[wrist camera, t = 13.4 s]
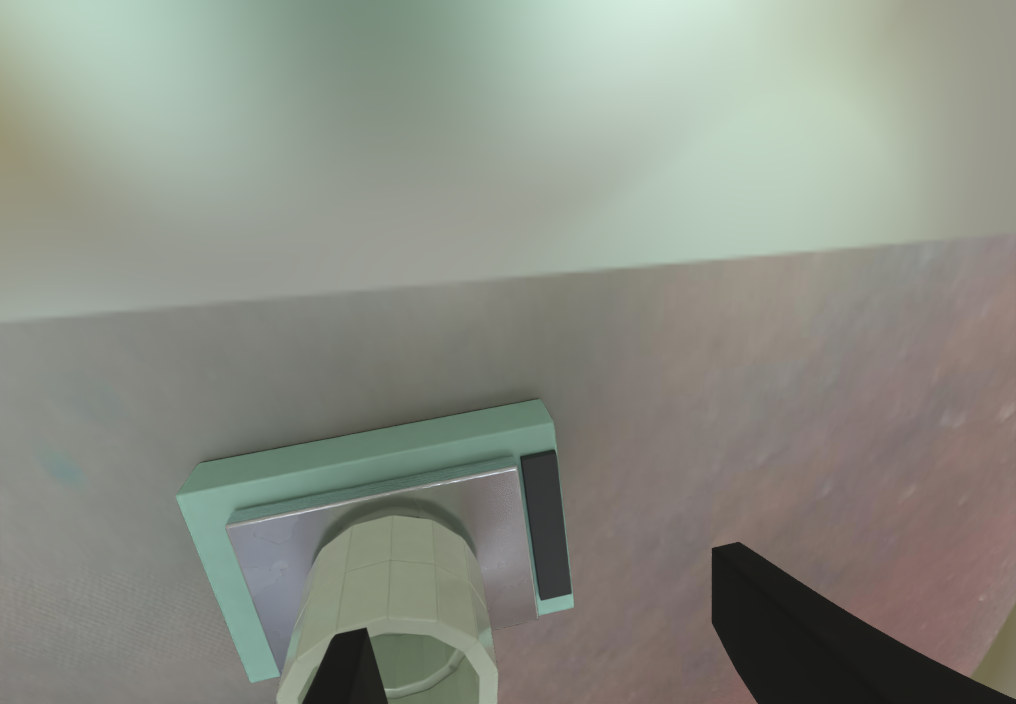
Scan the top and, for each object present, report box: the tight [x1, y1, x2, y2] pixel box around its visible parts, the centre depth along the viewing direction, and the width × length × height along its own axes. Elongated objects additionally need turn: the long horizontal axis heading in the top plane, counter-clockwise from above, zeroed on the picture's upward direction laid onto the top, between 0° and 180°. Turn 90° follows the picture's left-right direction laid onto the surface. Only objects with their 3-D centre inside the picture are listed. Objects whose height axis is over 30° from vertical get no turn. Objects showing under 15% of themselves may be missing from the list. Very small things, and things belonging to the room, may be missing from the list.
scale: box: [176, 399, 574, 683], centre depth 20 cm, size 12×8×2 cm, turn 97°
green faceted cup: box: [276, 515, 498, 704], centre depth 16 cm, size 5×6×4 cm
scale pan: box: [225, 456, 539, 677], centre depth 18 cm, size 9×6×1 cm
